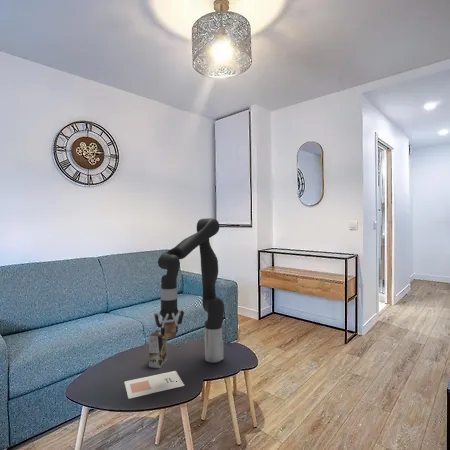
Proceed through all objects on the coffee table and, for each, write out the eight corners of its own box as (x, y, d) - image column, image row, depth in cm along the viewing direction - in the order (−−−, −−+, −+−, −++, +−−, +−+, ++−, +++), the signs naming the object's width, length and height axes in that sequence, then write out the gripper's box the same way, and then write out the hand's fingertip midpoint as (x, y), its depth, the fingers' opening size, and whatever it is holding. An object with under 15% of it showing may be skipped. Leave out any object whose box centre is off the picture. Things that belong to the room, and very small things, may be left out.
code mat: (175, 371, 147) (175, 370, 147) (184, 386, 134) (184, 385, 134) (124, 382, 137) (124, 381, 137) (128, 399, 124) (128, 398, 124)
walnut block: (173, 333, 142) (173, 321, 142) (176, 337, 137) (176, 324, 137) (162, 335, 140) (162, 322, 140) (165, 339, 135) (165, 325, 135)
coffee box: (160, 368, 150) (160, 336, 150) (148, 367, 151) (148, 335, 151) (167, 360, 159) (167, 330, 159) (156, 359, 160) (156, 329, 160)
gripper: (181, 294, 145) (181, 329, 145) (151, 297, 139) (151, 334, 139) (186, 297, 138) (186, 334, 138) (155, 301, 132) (155, 339, 132)
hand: (169, 334), depth 138 cm, fingers closed on walnut block, 5 cm apart
